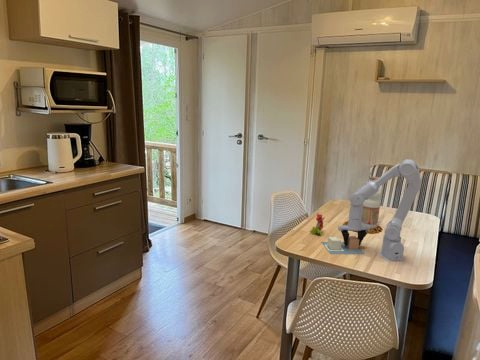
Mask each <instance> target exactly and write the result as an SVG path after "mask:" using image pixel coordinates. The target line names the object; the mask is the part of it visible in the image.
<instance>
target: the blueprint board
mask: <svg viewBox="0 0 480 360" xmlns="http://www.w3.org/2000/svg"><path fill="white" fill-rule="evenodd" d="M320 243H321V244H322V245H323V246H324V248H325V249H326V250H327V252H328V253H329V254H330V255H365V252H363V250H361V248H360V247H359V248H358V249H349V248H348V247H347V246H345V245H344V241H341V248H340V250H331V249H330V248H329V247H328V241H321V242H320Z"/></svg>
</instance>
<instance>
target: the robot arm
mask: <svg viewBox="0 0 480 360" xmlns="http://www.w3.org/2000/svg"><path fill="white" fill-rule="evenodd" d="M419 168H420V167H419V166H418V165H417V163H416V161H414V159H410V158H407V159H404V160H403V161H402V162H399V163H397V164H396V165H394V166H392V167H391V168H389V169H388V170H387V171H386V172H385V173H384V174H382V175H380V176H379V178H378V179H377V180H376V181H374V182H372V181H370V180H369V181H366V182H365V183H364V185H363V186H362V187H360V188H357V189H356V191H355V192H353V193H352V194H351V196H350V198H349V202H350V203H349V204H350V206H349V212H348V221H347V224H343V225H338V227H337V230H338V232H340V233H341V235H342V239H343V242H344V245H345V246H347V244H348V237H349V236H350V232H357V238H358V239H359V247H360V246H361V244H362V242H363V240H364V238H365V237H366V236H367V233H368V232H370V230H371V229H370V227H369V226H361V221H362V212H363V202H364V201H365V200H367V199H369V198H370V197H371V196H373V195H374V194H375V193H377V192H378V191H379V188H380V187H381V186H383V185H384V184H385V183H387V182H389V181H390V180H391V179H394V178H397V177H398V178H399V177H401V176H402V177H403V178H404V179H405V180H406V182H407V183H408V186H407V187H406V190H405V191H404V193H403V196H402V198H401V200H400V202H399V205H398V207H397V209H396V211H395V213H394V215H393V217H392V219H391V220H390V221H389V222H387V224H386V227H385V229H384V234H383V238H382V245H381V251H377V253H378V255H380V256H381V257H382V258H383V259H385V260H386V261H388V262H389V261H390V262H391V261H392V262H394V261H396V262H397V261H398V262H401V261H405V259H403V257H404V251H405V247H404V245H403V243H402V237H401V232H402V230H403V227H402V226H403V224H404V222H405V220H406V217H407V216H408V214H409V212H410V209H411V207H412V205H413V203H414V201H415V200H416V197H417V194H418V193H419V191H420V189H421V186H422V178H421V173H420V169H419Z"/></svg>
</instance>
